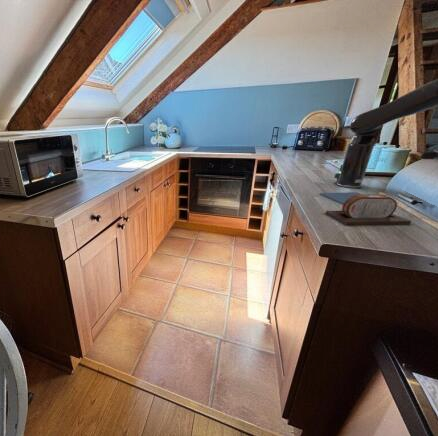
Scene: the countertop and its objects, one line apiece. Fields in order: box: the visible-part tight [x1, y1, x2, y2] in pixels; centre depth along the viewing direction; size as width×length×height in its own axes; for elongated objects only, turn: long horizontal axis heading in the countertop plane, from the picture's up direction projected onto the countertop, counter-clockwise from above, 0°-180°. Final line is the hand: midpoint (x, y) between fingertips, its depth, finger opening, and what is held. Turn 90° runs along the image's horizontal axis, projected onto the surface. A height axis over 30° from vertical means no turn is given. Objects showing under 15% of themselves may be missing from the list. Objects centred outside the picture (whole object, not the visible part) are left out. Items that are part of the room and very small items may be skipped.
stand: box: [325, 210, 412, 226], centre depth 82 cm, size 10×20×1 cm, turn 89°
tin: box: [341, 193, 398, 218], centre depth 80 cm, size 15×3×8 cm, turn 84°
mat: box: [320, 192, 361, 205], centre depth 101 cm, size 14×16×1 cm
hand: (436, 157), depth 74 cm, fingers open, 8 cm apart
